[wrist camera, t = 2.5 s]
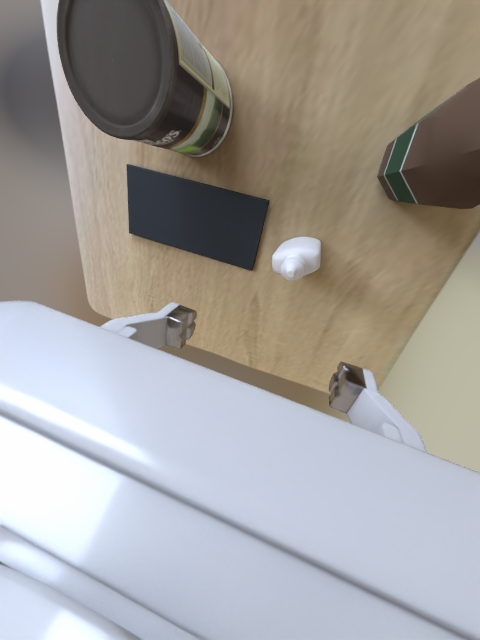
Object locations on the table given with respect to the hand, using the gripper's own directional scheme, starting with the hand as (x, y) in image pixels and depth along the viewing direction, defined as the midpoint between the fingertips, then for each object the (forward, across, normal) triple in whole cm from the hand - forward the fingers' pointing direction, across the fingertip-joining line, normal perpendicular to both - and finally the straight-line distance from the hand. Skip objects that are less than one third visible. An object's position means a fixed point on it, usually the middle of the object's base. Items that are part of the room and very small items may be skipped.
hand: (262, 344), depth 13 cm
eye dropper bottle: (+25, 0, 0) cm, 25 cm away
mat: (+25, +17, 0) cm, 30 cm away
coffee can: (+25, +18, -13) cm, 34 cm away
